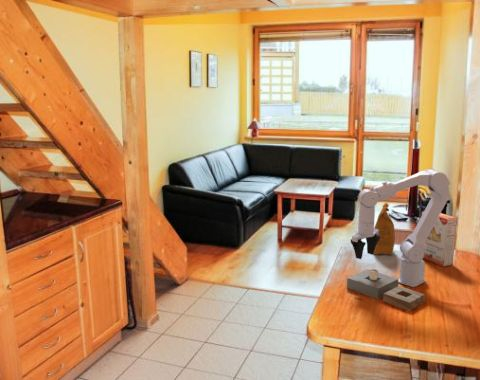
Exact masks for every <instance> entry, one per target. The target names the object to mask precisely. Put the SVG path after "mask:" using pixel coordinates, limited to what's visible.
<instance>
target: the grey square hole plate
mask: <svg viewBox="0 0 480 380" xmlns="http://www.w3.org/2000/svg"><path fill="white" fill-rule="evenodd" d="M370 270H371V269H365V270H363V271H360V272H358V273H355V274H353V275H351V276H348V277H347V279H346V289H347V290H348V289H349V290H351V291H355V292H358V293H360V294H363V295H364V296H368V297H371V298H373V299H376V300H379V299H380V298H382V297H383V293H385V292H388V291H390V290H392V289H394V288H396V287H398V286H399V283H398V279H399V278H396V277H394V276H390V275H388V274H384V273H381V272H378V280H377V281H375V282H374V281H371V280H369V272H370Z"/></svg>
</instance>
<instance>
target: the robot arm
mask: <svg viewBox="0 0 480 380" xmlns="http://www.w3.org/2000/svg"><path fill="white" fill-rule="evenodd" d="M450 184H451V183H450V180H449V178H448V177H447V175H446V174H445V173H444V172H440V171H438V170H437V169H434V168H428V169H425V170H421V171H418V172H417V173H414V174H412V175H410V176H407V177H405V178H403V179H401V180H398V181H396V182H393V183H392V182H391V181H386V180H385V181H382V182H381V184H378V185H376V186H371V187H369V189H368V188H366V189H365V188H364V189H362V190H361V191H360V192H359V193H358V195H357V199H358V201H359V209H358V228H357V229H356V230H355V234H354V235H352V236H351V239H350V243H351V245H352V248H353V251H354V256H355V259H359V260H362V258H363V255H364V254H363V253H364V248H365V246H366V251H367V252H366V253H367V254H368V255H372V256H373V255H374V254H373V253H374V250H375V247H376V244H377V242H378V241H379V239H380V236H377V235H379V230H378V229H374V227H375V214H376V210H375V209H376V208H375V207H376V205H377V203H379V202H382V201H384V200H388V199H390V198H393V197H395V196H396V195H397V193H398V192H400V191H403V190H407V189H410V188H412V187H416V186H422V187H423V186H424V187H426V188H428V190H429V192H430V195H431V198H430V200H429V201H428V204H427V206H426V207H425V209H424V210H423V211H424V213H423V215H422V214H421V216H420V218H419V220H418V221H417V224H416V226H415V228H414V230H413V231H412V233H410V234H409V235H408V236H406V239H405V240H403V241H402V242H401V243H400V245H399V251H400V252H401V258H400V271H399V278H397V279H398V284H403V285H405V286H408V287H411V288H417V286H419V285H422V284H423V283H425V282H426V281H427V280H426V279H425V271H426V269H425V268H426V264H425V261H424V260H423V259H424V258H423V257H424V250H425V248H426V239H427V237H428V235H429V233H430V232H431V230H432V228H433V226H434V224H435V222H436V221H437V219H438V217H439V215H440V213H442V211H443V209H444V208H445V205H446V203H447V202H448V201H449V197H450V196H449V195H450V194H449V193H450V191H449V186H450ZM363 239H365V240H366V242H365V241H363Z"/></svg>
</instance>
